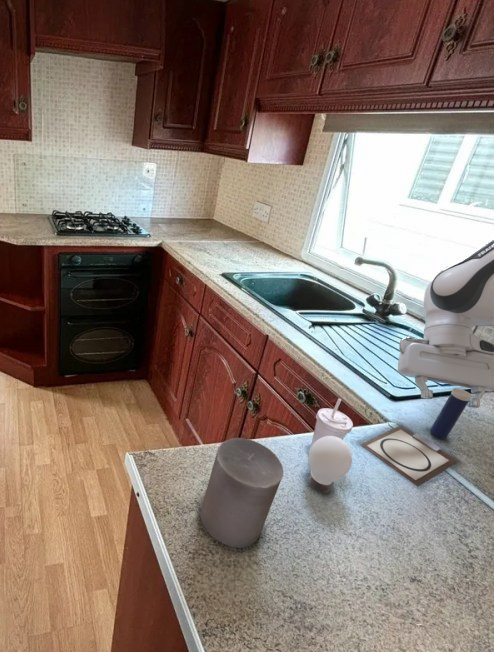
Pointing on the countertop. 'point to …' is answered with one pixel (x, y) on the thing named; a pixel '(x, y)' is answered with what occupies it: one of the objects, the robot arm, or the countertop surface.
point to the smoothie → (331, 423)
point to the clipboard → (409, 454)
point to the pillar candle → (240, 492)
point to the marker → (450, 413)
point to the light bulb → (328, 462)
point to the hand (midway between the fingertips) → (450, 402)
